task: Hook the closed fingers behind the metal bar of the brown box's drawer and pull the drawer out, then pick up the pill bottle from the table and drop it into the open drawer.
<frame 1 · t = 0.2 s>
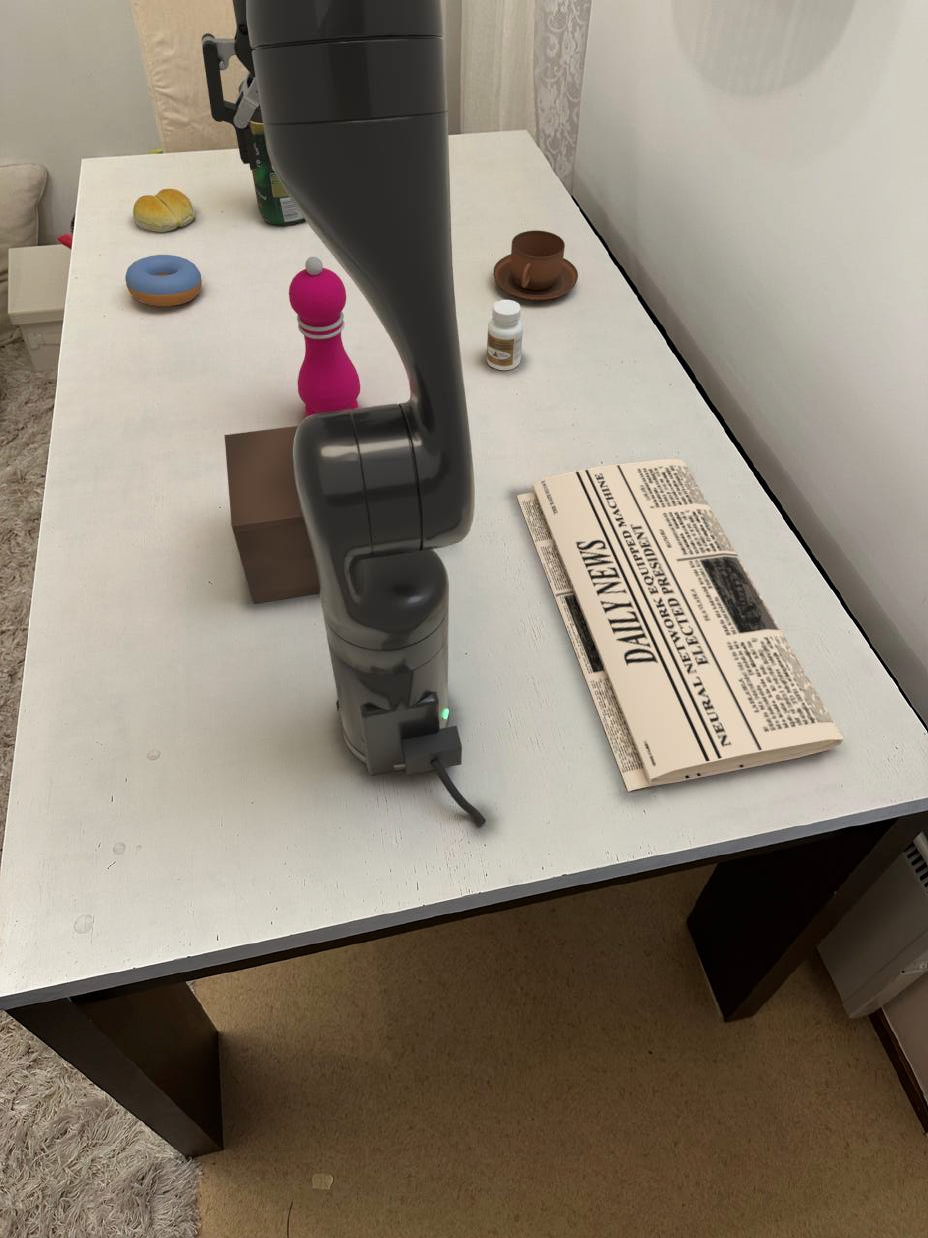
hand: (299, 163, 79), 29 cm above the table, tool pointing down, fingers open, 8 cm apart
pepper mill: (333, 418, 102), on the table
doughnut: (168, 296, 117), on the table
coffee jar: (284, 213, 133), on the table
cup and saucer: (534, 286, 121), on the table
brown box: (320, 546, 88), on the table
newspaper: (657, 610, 84), on the table
pill bottle: (503, 362, 109), on the table
bread roll: (167, 220, 131), on the table
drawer: (361, 502, 85), point 5 cm above the table, slide at 0.5 cm
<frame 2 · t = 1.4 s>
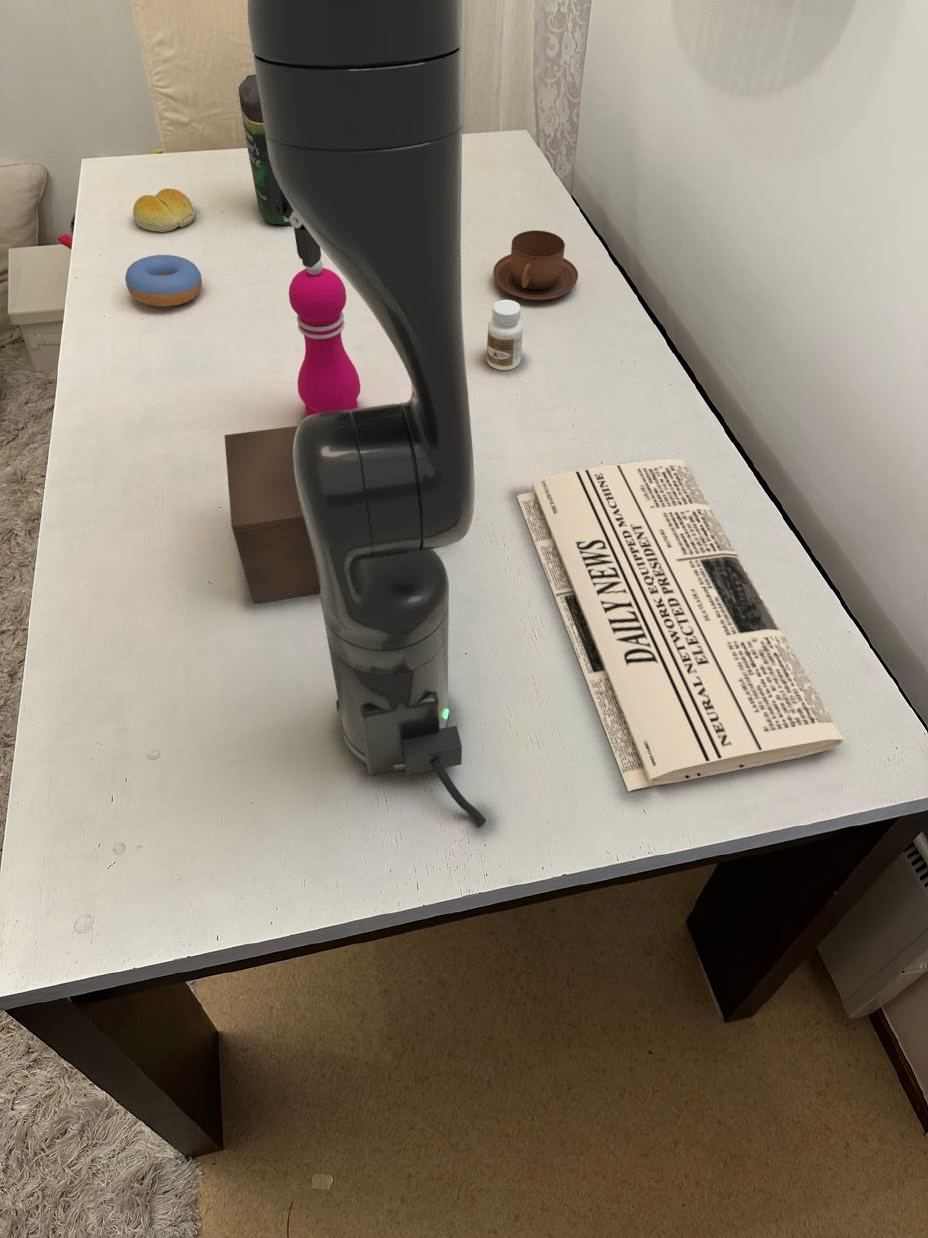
hand: (352, 273, 78), 23 cm above the table, tool pointing down, fingers open, 8 cm apart
nothing on the table moved.
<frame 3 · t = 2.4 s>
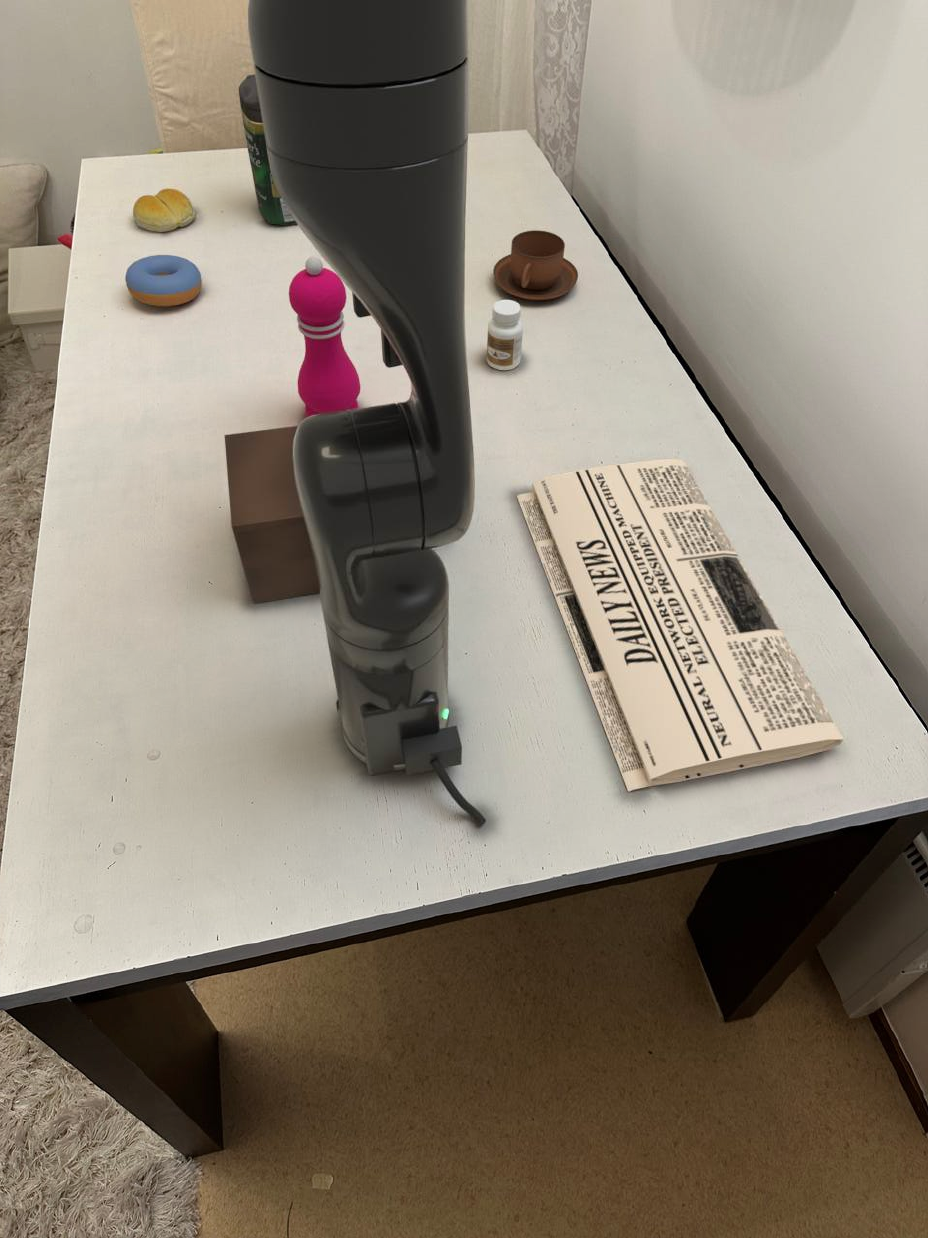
hand: (380, 338, 78), 20 cm above the table, tool pointing down, fingers open, 8 cm apart
nothing on the table moved.
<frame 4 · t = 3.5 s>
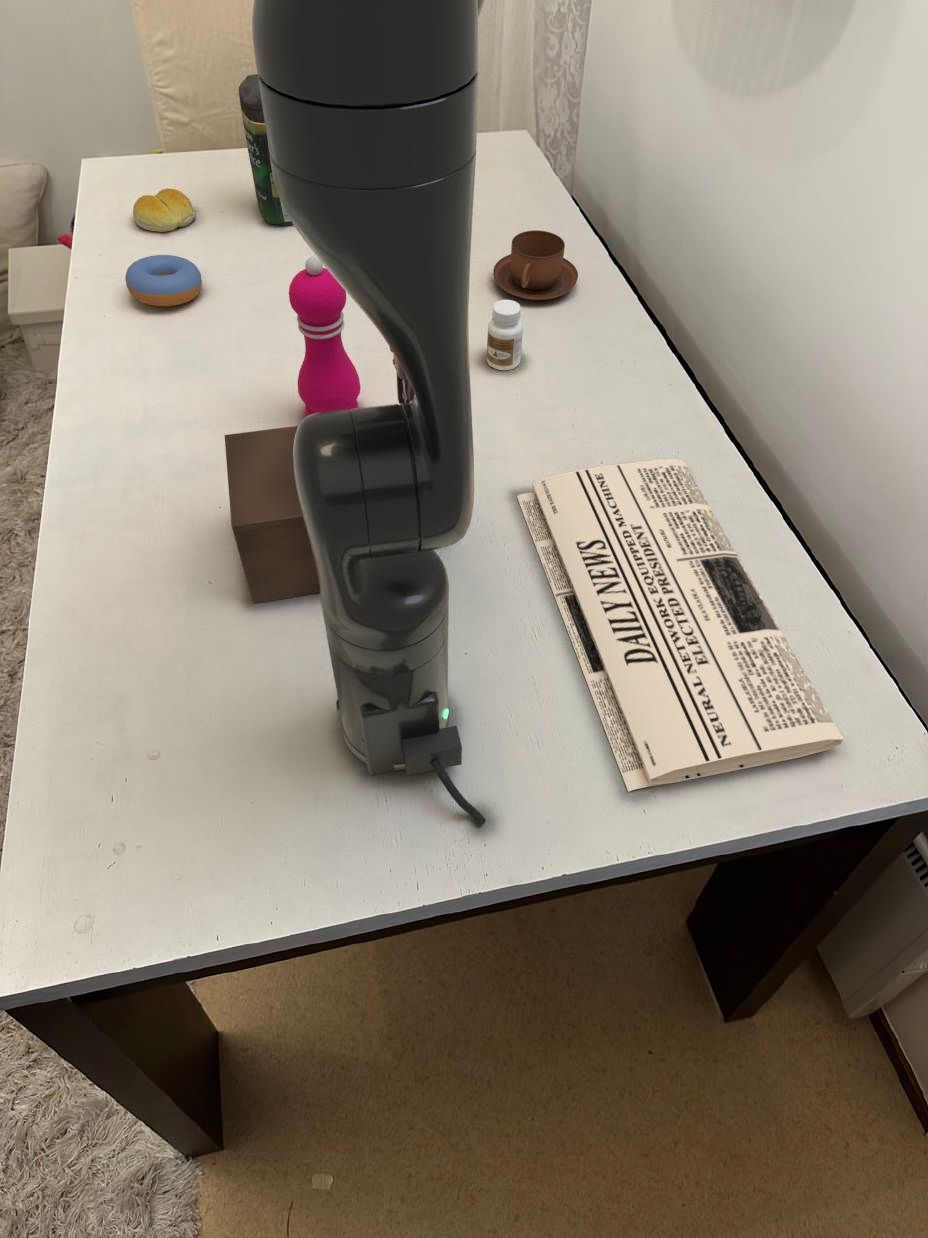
hand: (414, 416, 78), 15 cm above the table, tool pointing down, fingers open, 3 cm apart
nothing on the table moved.
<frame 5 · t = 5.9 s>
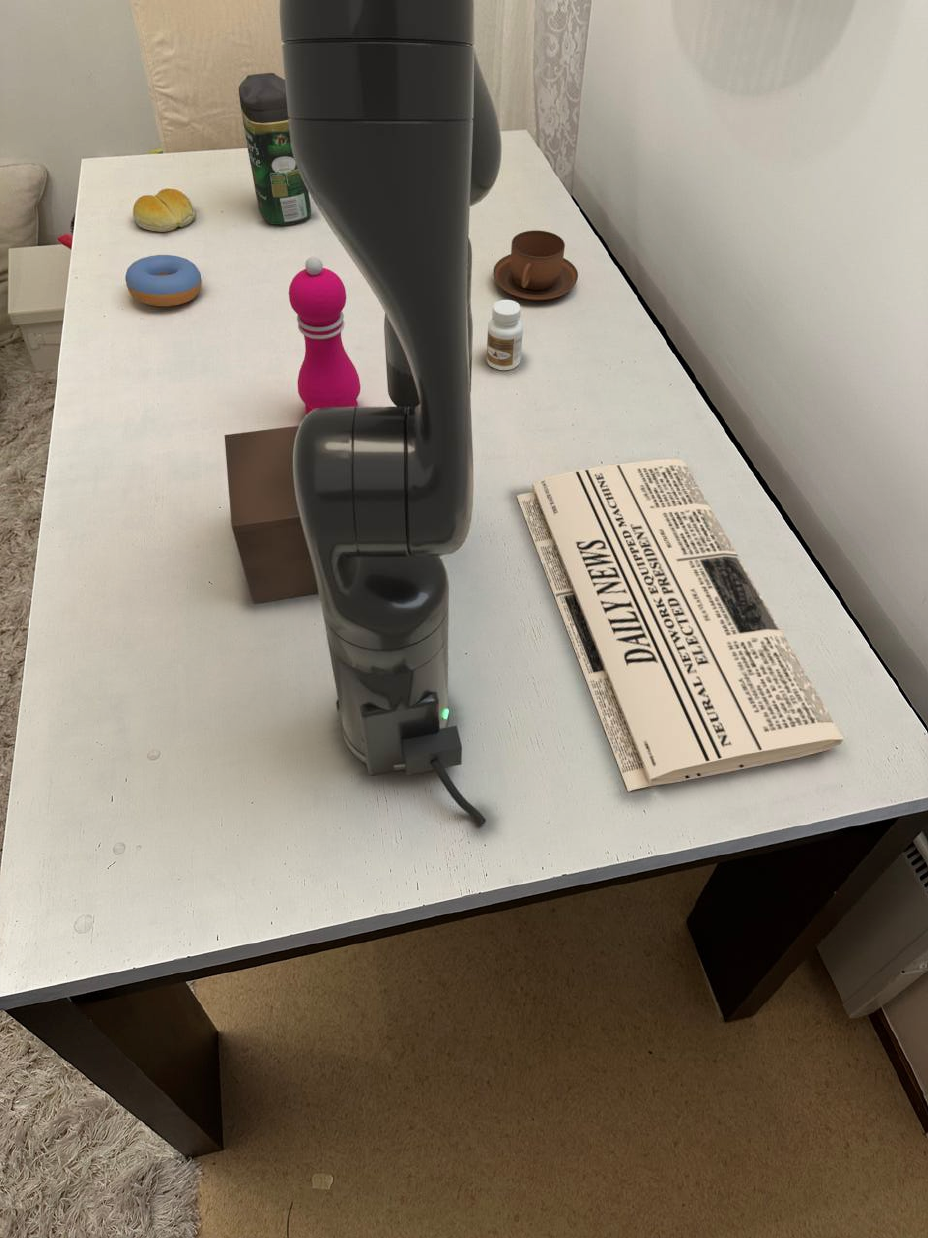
hand: (430, 495, 86), 5 cm above the table, tool pointing down, fingers closed
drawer: (366, 501, 85), point 5 cm above the table, slide at 1.0 cm
everything else where it was.
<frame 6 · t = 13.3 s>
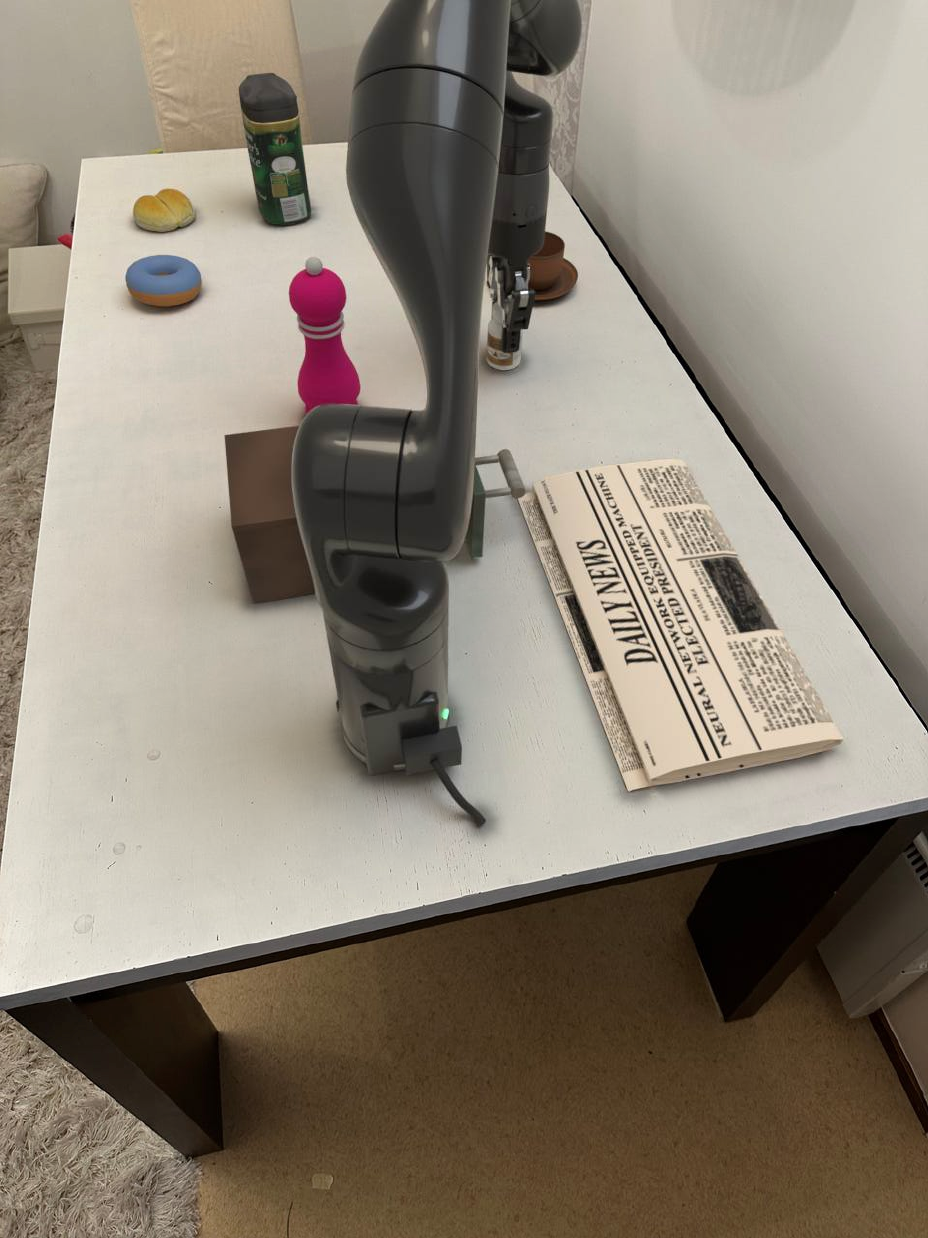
hand: (504, 338, 106), 3 cm above the table, tool pointing down, fingers closed on pill bottle, 4 cm apart
pill bottle: (503, 362, 109), on the table, touching gripper
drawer: (429, 492, 86), point 5 cm above the table, slide at 7.4 cm
everything else where it was.
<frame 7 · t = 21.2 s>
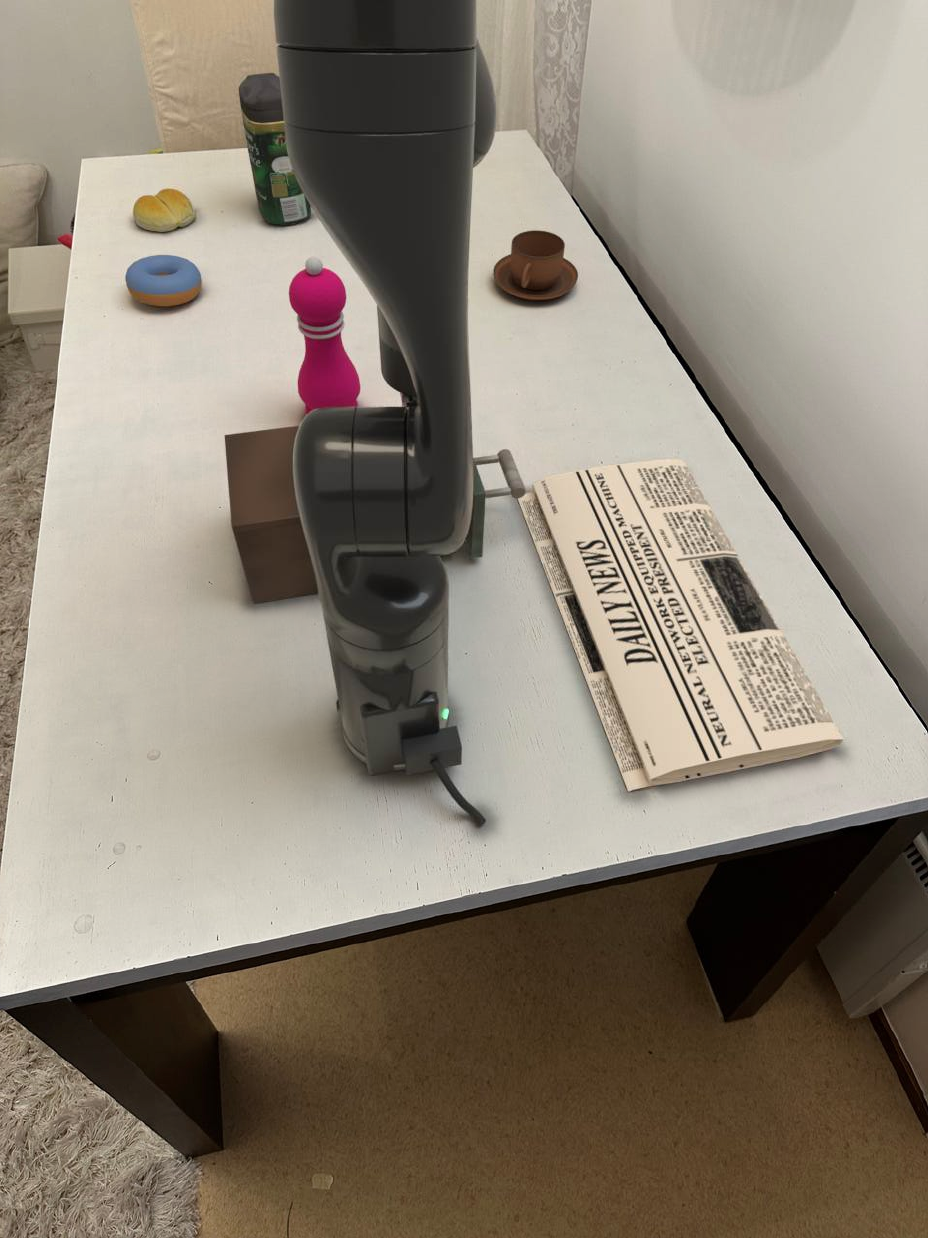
hand: (426, 478, 84), 7 cm above the table, tool pointing down, fingers closed on pill bottle, 4 cm apart
pill bottle: (426, 504, 87), point 4 cm above the table, touching gripper
everything else where it was.
when the fingers open (9 cm above the table, at t = 31.0 s): pill bottle drops 3 cm, resting on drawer.
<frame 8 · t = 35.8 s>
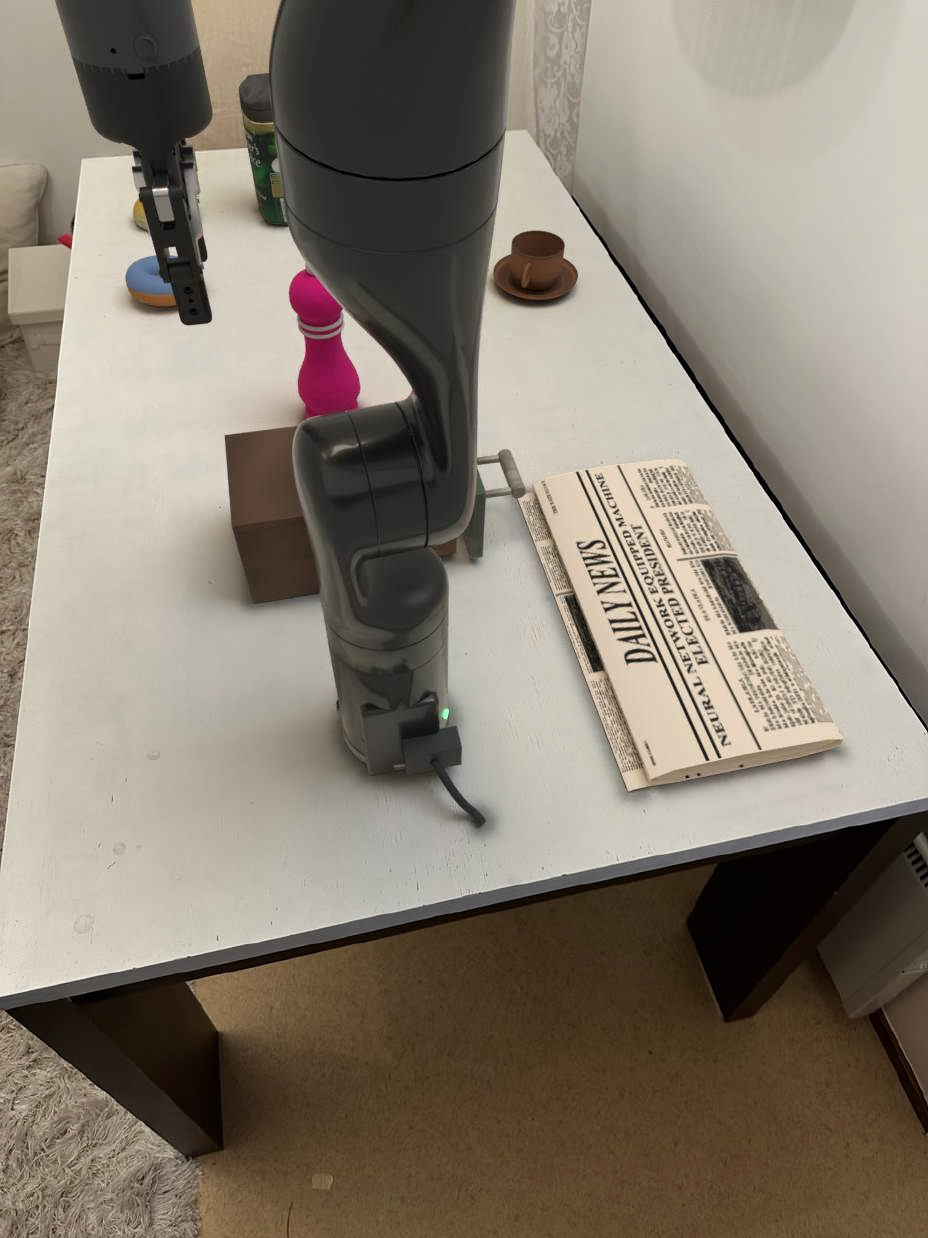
hand: (195, 290, 63), 30 cm above the table, tool pointing down, fingers open, 8 cm apart
pill bottle: (426, 518, 88), point 2 cm above the table, touching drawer
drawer: (429, 492, 86), point 5 cm above the table, slide at 7.5 cm, touching pill bottle
everything else where it was.
at the end: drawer slide at 7.5 cm; pill bottle inside the target area in the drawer (5.9 cm from its centre), point 1.9 cm above the brown box's base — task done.
